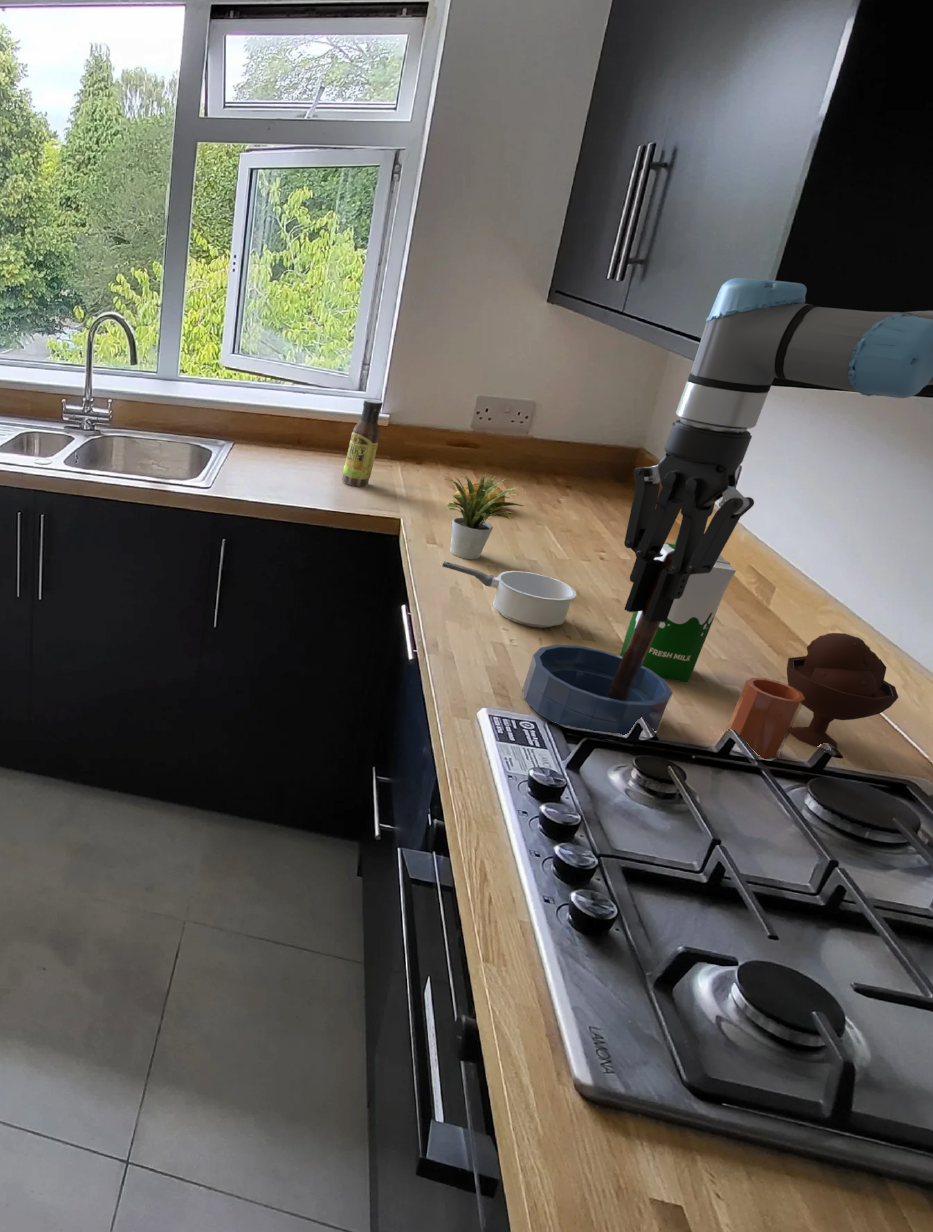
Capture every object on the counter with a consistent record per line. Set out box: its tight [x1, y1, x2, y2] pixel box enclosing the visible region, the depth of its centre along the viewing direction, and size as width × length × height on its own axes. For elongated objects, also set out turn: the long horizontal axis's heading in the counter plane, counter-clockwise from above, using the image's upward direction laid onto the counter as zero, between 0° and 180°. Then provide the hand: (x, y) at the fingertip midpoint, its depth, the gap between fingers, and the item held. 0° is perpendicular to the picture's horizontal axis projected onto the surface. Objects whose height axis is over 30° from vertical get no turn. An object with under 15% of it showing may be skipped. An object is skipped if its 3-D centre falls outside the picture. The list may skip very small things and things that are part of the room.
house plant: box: [445, 470, 524, 560], centre depth 166 cm, size 14×14×16 cm
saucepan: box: [442, 561, 577, 629], centre depth 145 cm, size 12×20×6 cm, turn 58°
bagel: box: [451, 481, 506, 512], centre depth 200 cm, size 10×11×5 cm
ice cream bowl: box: [786, 632, 899, 750], centre depth 111 cm, size 11×11×15 cm
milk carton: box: [620, 535, 737, 684], centre depth 126 cm, size 9×9×20 cm
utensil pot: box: [724, 677, 805, 759], centre depth 108 cm, size 6×6×9 cm
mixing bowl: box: [522, 644, 674, 735], centre depth 115 cm, size 16×16×6 cm
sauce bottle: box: [341, 398, 384, 488], centre depth 206 cm, size 6×6×20 cm
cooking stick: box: [606, 551, 674, 701], centre depth 110 cm, size 2×2×22 cm
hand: (645, 614), depth 108 cm, fingers closed on cooking stick, 2 cm apart
